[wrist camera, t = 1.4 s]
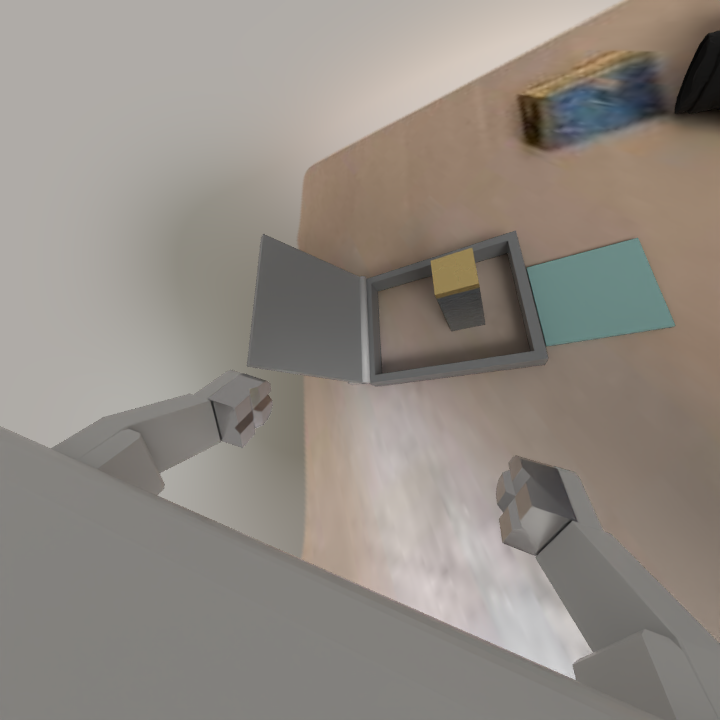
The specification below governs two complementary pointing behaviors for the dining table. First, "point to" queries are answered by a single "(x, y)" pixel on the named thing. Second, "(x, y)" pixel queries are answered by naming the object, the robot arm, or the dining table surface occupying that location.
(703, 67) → the film camera
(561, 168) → the dining table surface
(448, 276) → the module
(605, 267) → the pad
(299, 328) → the case
